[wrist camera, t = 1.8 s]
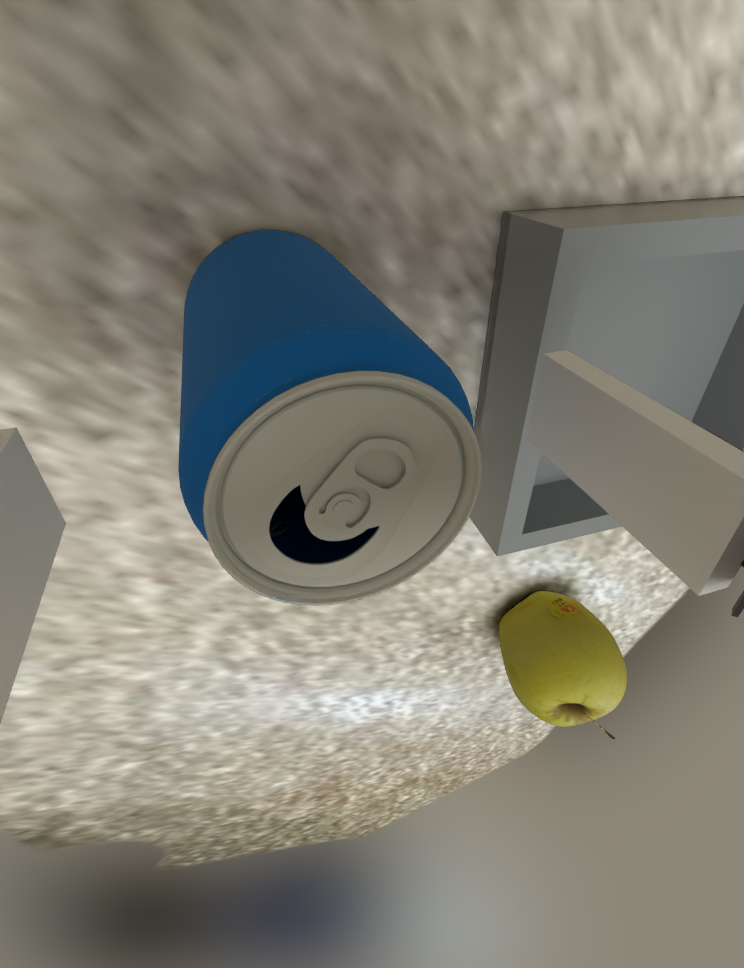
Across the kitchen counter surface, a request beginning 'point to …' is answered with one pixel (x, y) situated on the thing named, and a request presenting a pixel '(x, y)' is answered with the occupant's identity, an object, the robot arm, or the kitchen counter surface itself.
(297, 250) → the beverage can
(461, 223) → the kitchen counter surface
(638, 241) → the bin
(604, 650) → the apple
